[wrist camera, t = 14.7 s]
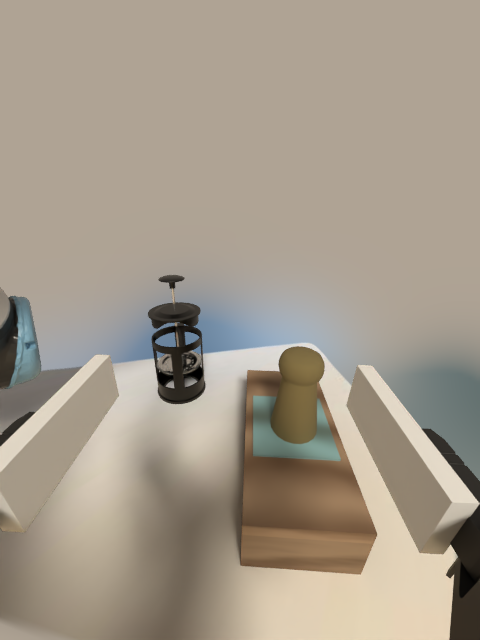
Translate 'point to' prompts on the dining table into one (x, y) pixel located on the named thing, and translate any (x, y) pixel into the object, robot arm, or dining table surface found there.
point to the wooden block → (299, 493)
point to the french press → (177, 349)
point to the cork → (297, 395)
